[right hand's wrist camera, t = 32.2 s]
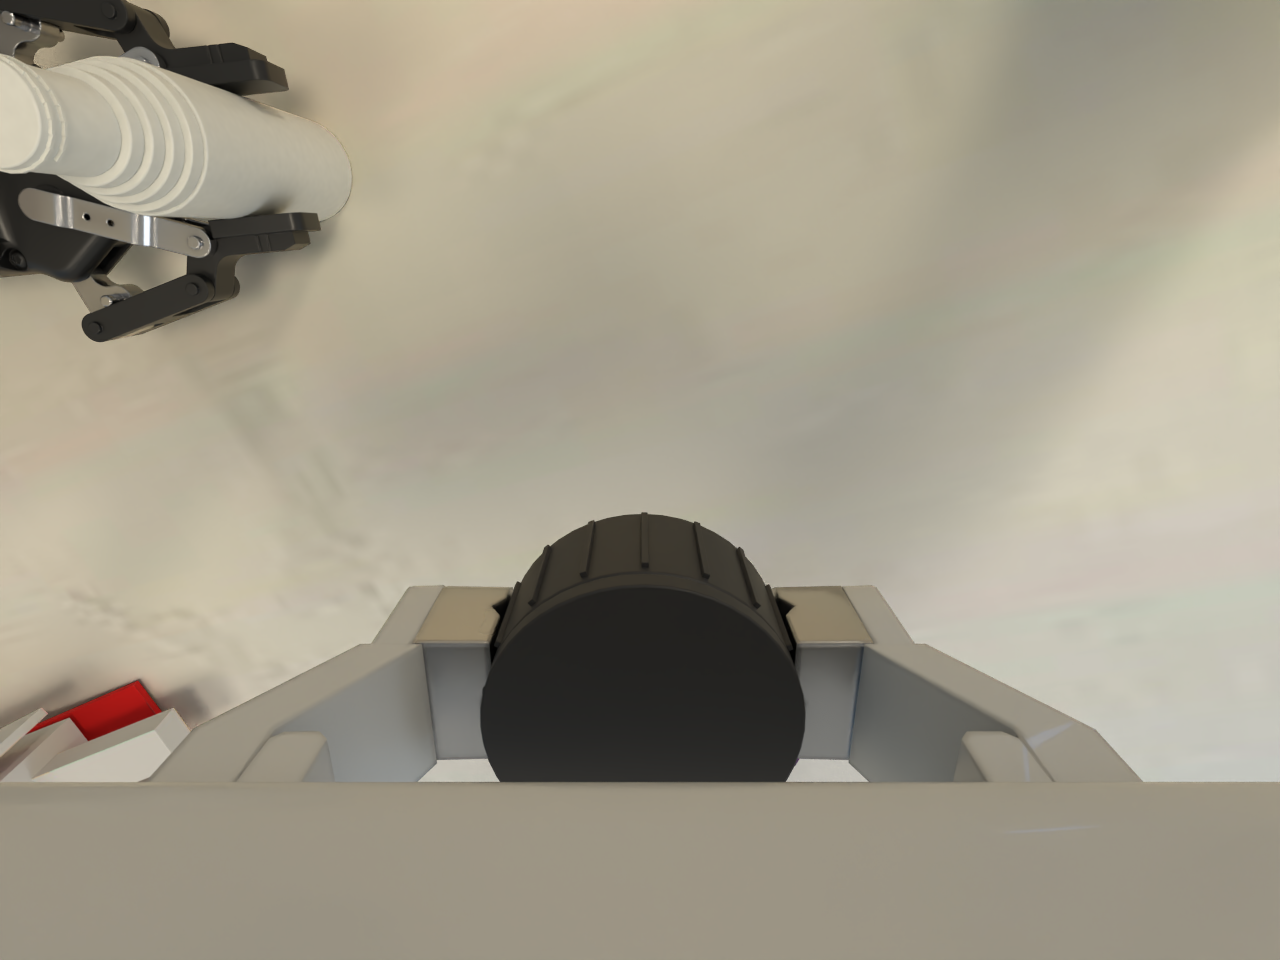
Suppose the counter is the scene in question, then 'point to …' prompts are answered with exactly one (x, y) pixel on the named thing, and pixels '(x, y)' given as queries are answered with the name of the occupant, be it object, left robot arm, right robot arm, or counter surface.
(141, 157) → the bottle
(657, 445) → the counter surface
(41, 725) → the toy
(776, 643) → the cap
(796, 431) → the counter surface
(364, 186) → the counter surface
